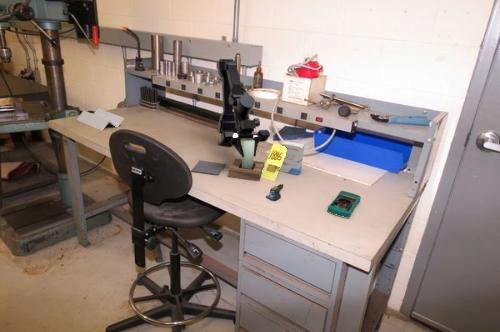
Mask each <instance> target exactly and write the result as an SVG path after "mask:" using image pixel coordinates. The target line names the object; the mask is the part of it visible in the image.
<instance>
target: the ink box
mask: <svg viewBox="0 0 500 332" xmlns="http://www.w3.org/2000/svg"><path fill="white" fill-rule="evenodd" d="M281 145H282V146H285V147H286V148H287V152H286V157H285V160H284V162H283V165H282V167H281V170H280V171H279V172H282V173H288V174H292V175H295V176H299V174H300V173H301V171H302V165H303V160H304V159H303V158H304V150H305V144H302V143H298V142H294V141H293V142H292V141H288V140H284V141H283V142H281V144H280V146H281Z"/></svg>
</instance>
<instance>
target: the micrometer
mask: <svg viewBox="0 0 500 332" xmlns="http://www.w3.org/2000/svg"><path fill="white" fill-rule="evenodd" d="M283 188H284V184H282V183H281V184H278V185H274V186H273V187H271V188H270V189H269V191H270V192H269V194H268V195H266V196H265V198H266V199H269V200H270V201H273V202H277V201H278V200H279V199H281V196H282V195H281V193H280V192H281V190H282V189H283Z"/></svg>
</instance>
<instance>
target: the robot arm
mask: <svg viewBox="0 0 500 332" xmlns="http://www.w3.org/2000/svg"><path fill="white" fill-rule="evenodd" d="M216 70H217V74H218V76H219V78H220V79H221V89H222V91H221V92H222V93H221V94H222V113H221V115H220V116H219V121H218V123H217V126H216V128H217V129H216V130H217V132H218V133H219V134H220V141H219V143H218V146H222V147H231V148H232V147H234V148H235V149H236V151H237V152H238V153H239V155H240V156H241V158H242V157H244V153H243V144H242V140H244V139H252V140H254V141H255V144H254V157H253V158H255V157H256V156H257V150H258V144H259V143H263V142H267V141H268V139H269V138H270V137H271V133H270V131H269V130H268V129H258V131H257V133H254V131H255V129H256V128H259V127H260V126H261V121H260V118H259V117H255V118H253V119H251V118H250V116H249V115H250V113H251V111H252V110H253V108H254V106H255V104H256V100H255V99H254V97H253V96H252V95H250V94H249V92H247V90H246V89H245V88H244V87H243V86H242V83H241V78H240V74H239V70H238V61H236V60H234V59H231V58H219V60H218V61H216ZM233 109H234V110H233Z"/></svg>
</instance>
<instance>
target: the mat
mask: <svg viewBox="0 0 500 332" xmlns="http://www.w3.org/2000/svg"><path fill="white" fill-rule="evenodd" d="M225 166H226V163H223V162H215V161H209V160H208V161H207V160H198V162H197V163H196V164H195V165H194V166H193V168H192V169H191V170H190V172H191V173H197V174H202V175H203V174H204V175H210V176H211V175H213V176H219V175H220V174H221V173H222V170H223V169H224V168H225Z"/></svg>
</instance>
